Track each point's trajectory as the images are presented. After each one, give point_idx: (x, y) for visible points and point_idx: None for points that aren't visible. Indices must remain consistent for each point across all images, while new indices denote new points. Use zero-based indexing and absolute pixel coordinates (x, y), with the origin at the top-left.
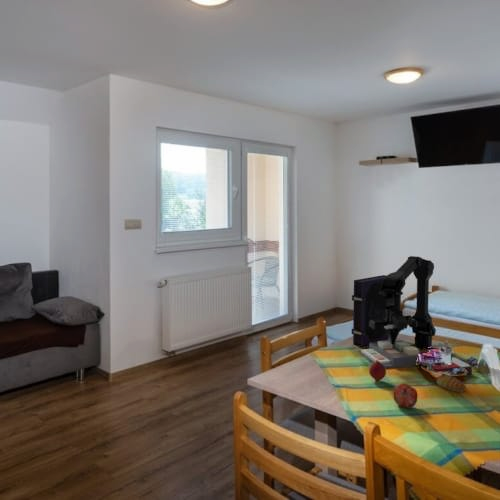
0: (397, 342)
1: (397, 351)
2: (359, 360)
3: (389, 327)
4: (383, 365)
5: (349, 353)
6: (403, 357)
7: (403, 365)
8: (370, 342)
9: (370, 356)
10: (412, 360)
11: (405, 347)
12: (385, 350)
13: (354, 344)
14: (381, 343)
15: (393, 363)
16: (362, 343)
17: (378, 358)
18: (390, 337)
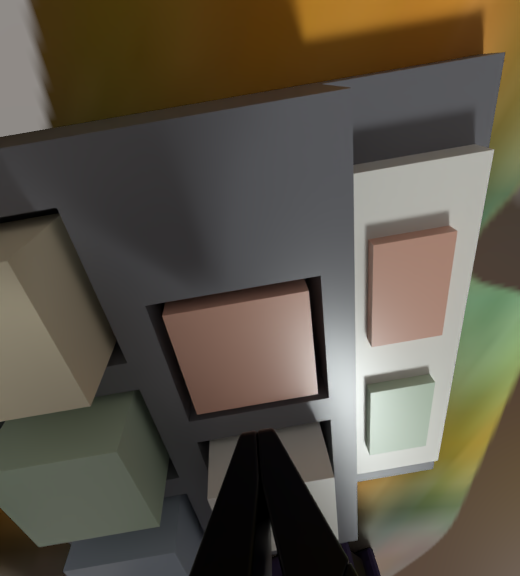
0: (134, 528)
1: (184, 359)
2: (515, 316)
3: None
4: (443, 92)
5: (487, 439)
6: (162, 118)
7: (174, 109)
8: (273, 570)
9: (459, 328)
10: (22, 137)
11: (58, 386)
12: (316, 387)
13: (367, 549)
14: (334, 497)
15: (324, 84)
16: (345, 551)
17: (455, 232)
18: (342, 559)
